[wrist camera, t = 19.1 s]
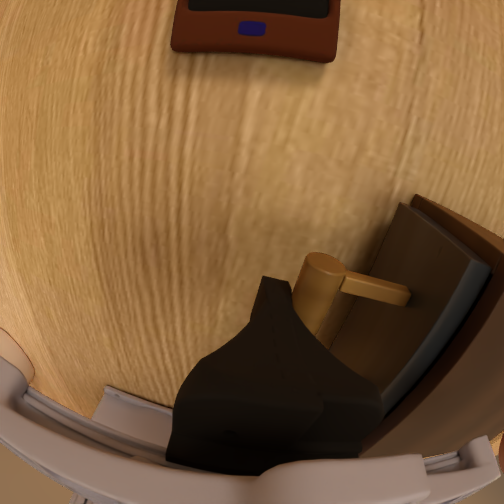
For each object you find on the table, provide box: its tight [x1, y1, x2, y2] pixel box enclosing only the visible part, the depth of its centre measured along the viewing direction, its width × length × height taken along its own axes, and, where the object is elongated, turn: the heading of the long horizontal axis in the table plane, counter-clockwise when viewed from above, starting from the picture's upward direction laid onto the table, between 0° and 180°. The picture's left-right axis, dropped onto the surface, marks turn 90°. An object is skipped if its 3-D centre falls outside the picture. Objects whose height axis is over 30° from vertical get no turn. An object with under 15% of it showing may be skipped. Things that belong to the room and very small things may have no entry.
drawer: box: [291, 202, 493, 422], centre depth 11 cm, size 17×10×6 cm, turn 76°
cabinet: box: [358, 194, 504, 458], centre depth 11 cm, size 14×12×8 cm
